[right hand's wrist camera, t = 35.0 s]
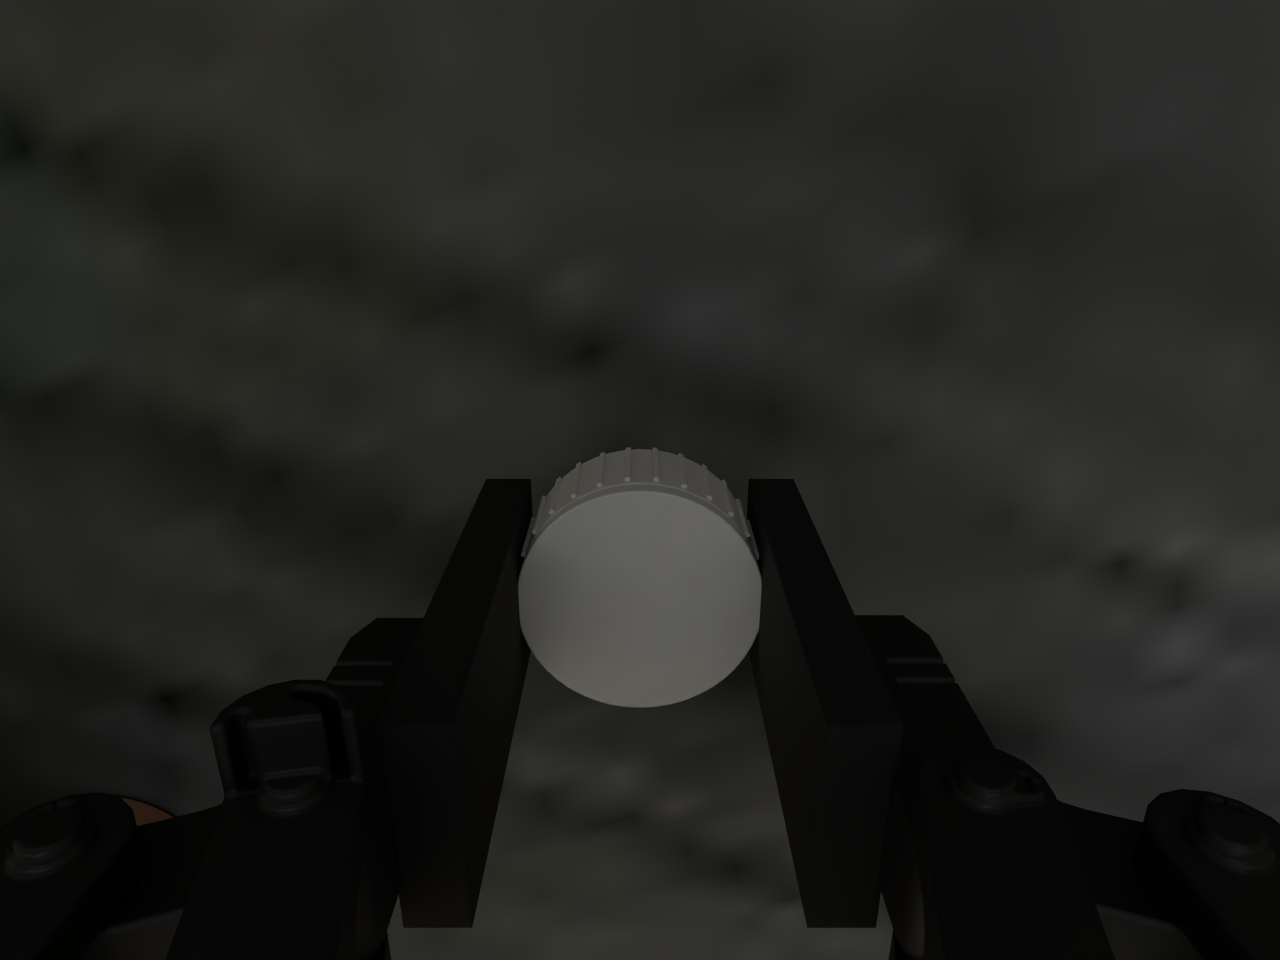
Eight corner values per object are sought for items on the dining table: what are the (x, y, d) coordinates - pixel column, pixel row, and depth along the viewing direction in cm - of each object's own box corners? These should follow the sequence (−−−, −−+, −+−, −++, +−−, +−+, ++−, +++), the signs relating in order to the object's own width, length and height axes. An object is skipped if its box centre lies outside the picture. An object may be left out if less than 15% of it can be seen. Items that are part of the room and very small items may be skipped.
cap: (480, 532, 15) (459, 585, 13) (661, 398, 14) (664, 436, 12) (621, 683, 16) (619, 751, 14) (797, 568, 15) (817, 625, 13)
